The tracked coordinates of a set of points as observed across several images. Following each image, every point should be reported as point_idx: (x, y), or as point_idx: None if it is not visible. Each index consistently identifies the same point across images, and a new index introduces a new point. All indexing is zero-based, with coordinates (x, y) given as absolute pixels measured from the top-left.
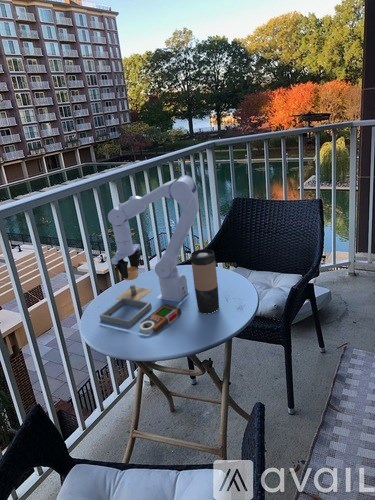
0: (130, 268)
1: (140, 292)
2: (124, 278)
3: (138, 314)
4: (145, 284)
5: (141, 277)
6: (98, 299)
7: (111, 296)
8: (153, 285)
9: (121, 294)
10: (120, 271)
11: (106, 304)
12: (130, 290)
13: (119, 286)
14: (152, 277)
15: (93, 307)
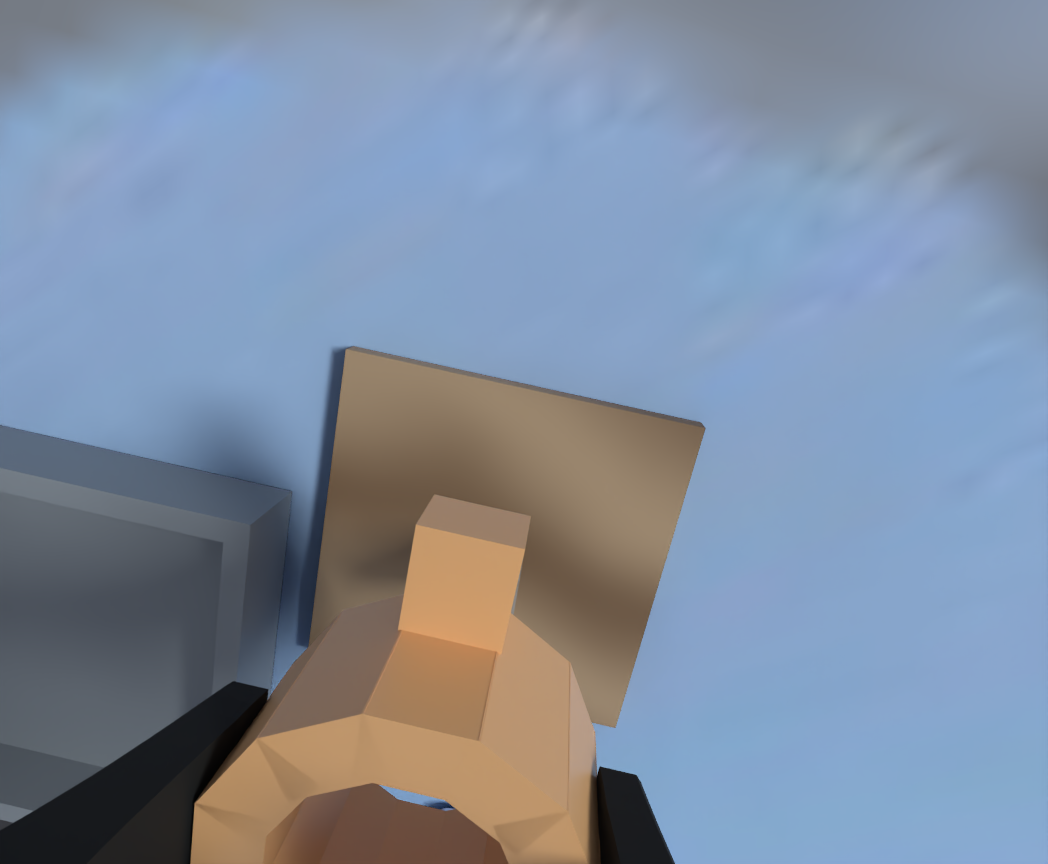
0: (519, 848)
1: (536, 614)
2: (278, 686)
3: (6, 811)
4: (796, 574)
5: (1043, 437)
6: (325, 59)
7: (434, 231)
8: (762, 680)
9: (460, 385)
10: (82, 819)
11: (229, 271)
12: (579, 465)
13: (746, 203)
14: (1016, 599)
15: (120, 115)
